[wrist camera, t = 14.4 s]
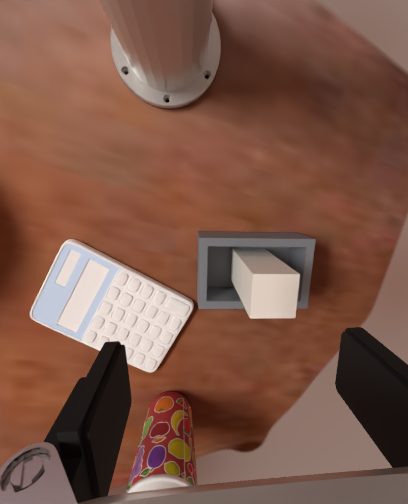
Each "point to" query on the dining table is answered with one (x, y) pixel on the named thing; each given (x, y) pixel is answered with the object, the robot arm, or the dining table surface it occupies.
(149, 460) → the smoothie
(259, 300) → the post
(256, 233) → the grey open box
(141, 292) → the calculator
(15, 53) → the dining table surface
